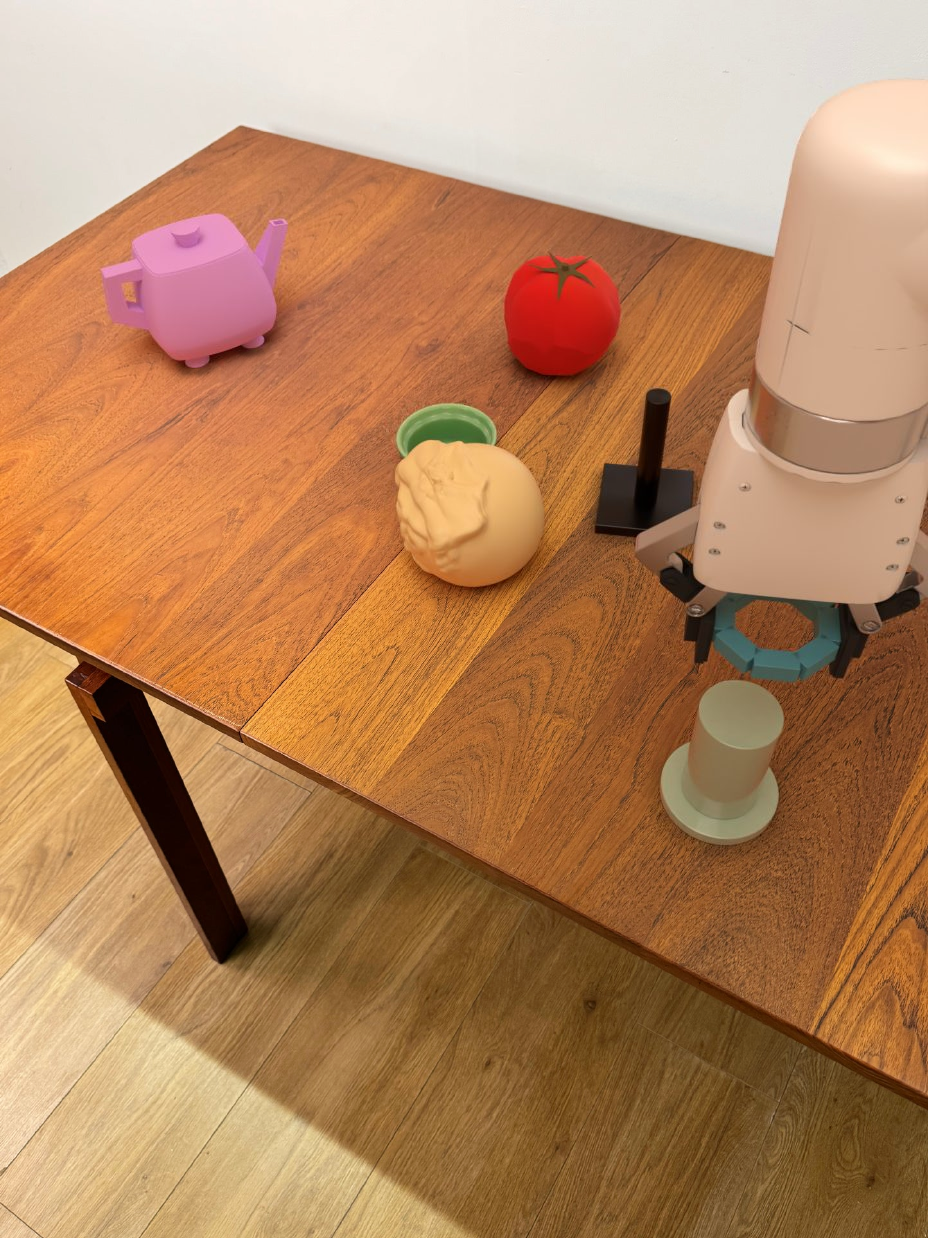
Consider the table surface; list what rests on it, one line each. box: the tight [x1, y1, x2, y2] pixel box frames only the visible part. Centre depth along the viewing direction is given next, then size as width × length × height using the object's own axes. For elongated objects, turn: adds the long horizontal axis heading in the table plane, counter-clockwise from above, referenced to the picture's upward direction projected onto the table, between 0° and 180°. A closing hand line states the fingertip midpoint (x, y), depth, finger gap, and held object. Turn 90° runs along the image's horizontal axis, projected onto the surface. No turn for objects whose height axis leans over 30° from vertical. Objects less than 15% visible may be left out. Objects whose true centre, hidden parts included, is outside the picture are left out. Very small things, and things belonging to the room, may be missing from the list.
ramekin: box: [395, 402, 498, 460], centre depth 90 cm, size 9×9×4 cm
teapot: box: [100, 213, 289, 369], centre depth 102 cm, size 20×12×13 cm, turn 119°
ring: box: [711, 592, 841, 683], centre depth 55 cm, size 7×7×1 cm
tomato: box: [503, 250, 622, 376], centre depth 97 cm, size 12×12×11 cm
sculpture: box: [394, 440, 545, 588], centre depth 81 cm, size 12×12×11 cm
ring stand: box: [659, 679, 785, 846], centre depth 66 cm, size 8×8×10 cm
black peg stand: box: [594, 387, 695, 538], centre depth 83 cm, size 8×8×12 cm
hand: (767, 649), depth 57 cm, fingers closed on ring, 6 cm apart
